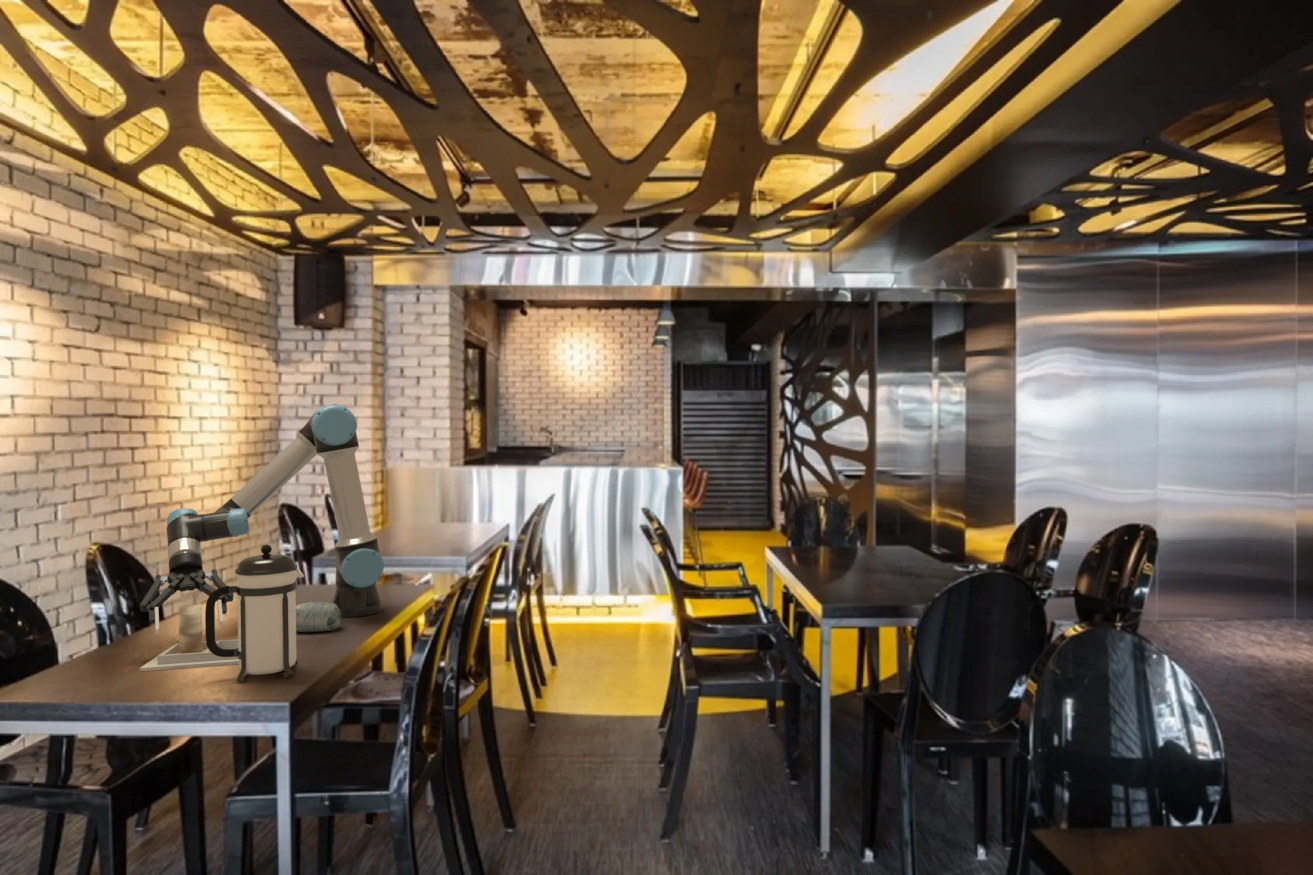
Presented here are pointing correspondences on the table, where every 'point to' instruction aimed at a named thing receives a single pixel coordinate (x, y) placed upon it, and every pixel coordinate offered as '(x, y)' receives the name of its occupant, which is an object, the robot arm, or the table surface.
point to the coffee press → (261, 615)
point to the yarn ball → (317, 616)
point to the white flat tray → (192, 658)
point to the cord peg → (190, 629)
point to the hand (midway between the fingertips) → (189, 628)
